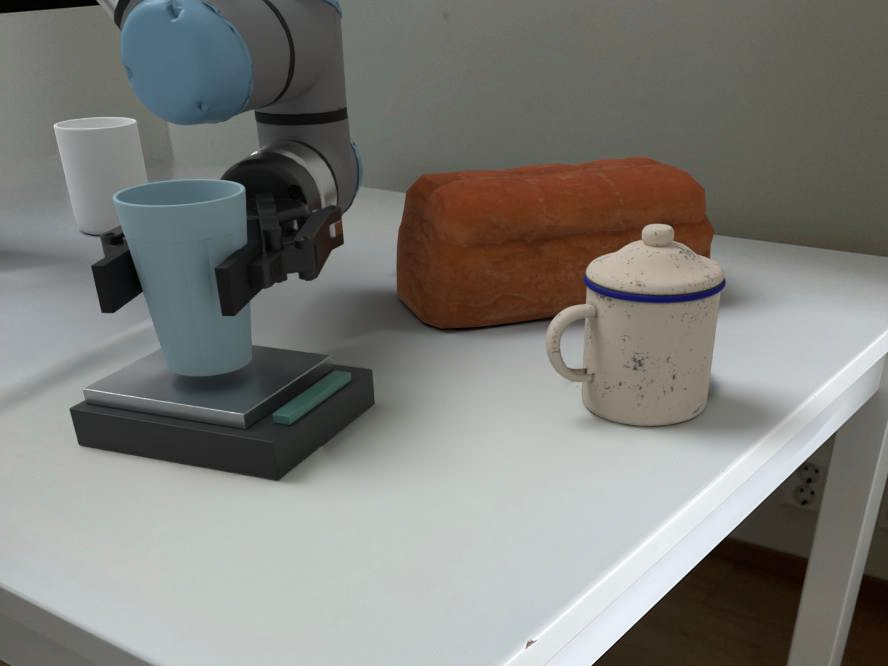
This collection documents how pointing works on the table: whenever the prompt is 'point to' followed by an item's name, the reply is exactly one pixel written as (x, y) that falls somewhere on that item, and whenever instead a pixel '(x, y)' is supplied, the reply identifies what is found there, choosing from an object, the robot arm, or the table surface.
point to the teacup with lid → (645, 331)
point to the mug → (99, 167)
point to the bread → (532, 235)
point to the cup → (188, 268)
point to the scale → (225, 411)
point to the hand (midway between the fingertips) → (163, 291)
